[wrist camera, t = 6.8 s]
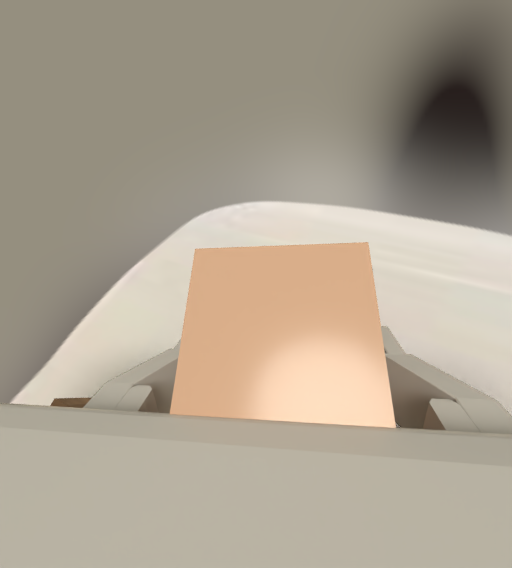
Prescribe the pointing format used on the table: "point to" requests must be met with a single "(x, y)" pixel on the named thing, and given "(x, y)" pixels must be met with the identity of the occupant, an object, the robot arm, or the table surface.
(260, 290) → the peach upright block
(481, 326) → the table surface
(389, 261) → the table surface
